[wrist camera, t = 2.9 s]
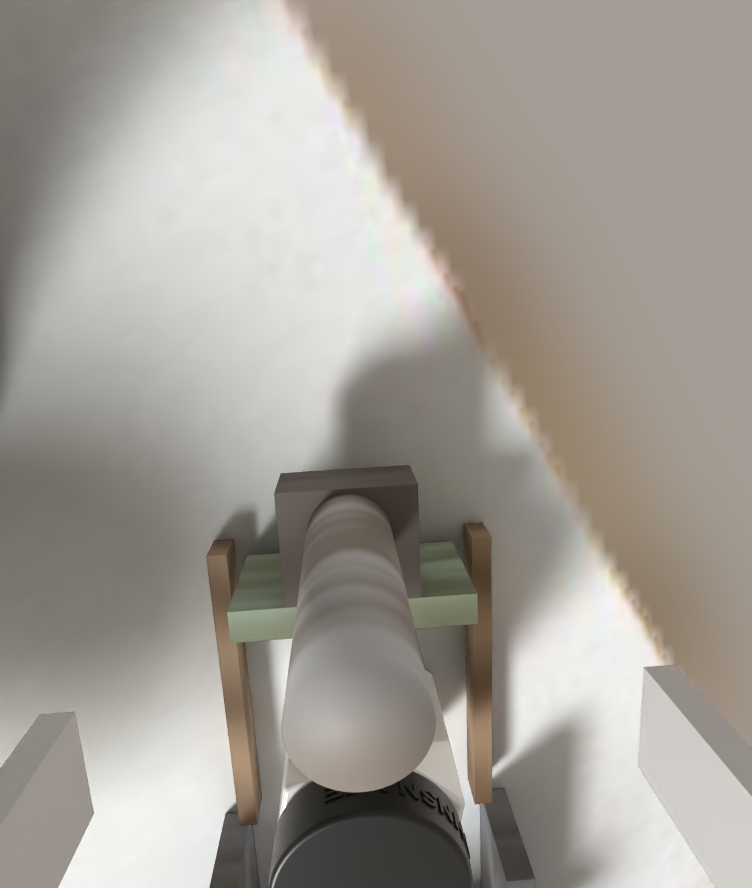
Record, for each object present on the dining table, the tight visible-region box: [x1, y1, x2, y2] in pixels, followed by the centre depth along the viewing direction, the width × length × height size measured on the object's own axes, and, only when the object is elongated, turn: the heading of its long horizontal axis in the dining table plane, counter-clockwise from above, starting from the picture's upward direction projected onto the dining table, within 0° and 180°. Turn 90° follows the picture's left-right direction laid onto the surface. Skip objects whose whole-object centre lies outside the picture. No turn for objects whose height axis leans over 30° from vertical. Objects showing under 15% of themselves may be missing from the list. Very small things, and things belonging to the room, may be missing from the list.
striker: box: [227, 465, 478, 792], centre depth 23 cm, size 7×11×18 cm, turn 93°
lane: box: [206, 522, 535, 888], centre depth 32 cm, size 31×17×9 cm, turn 3°
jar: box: [268, 670, 473, 888], centre depth 29 cm, size 9×8×12 cm
